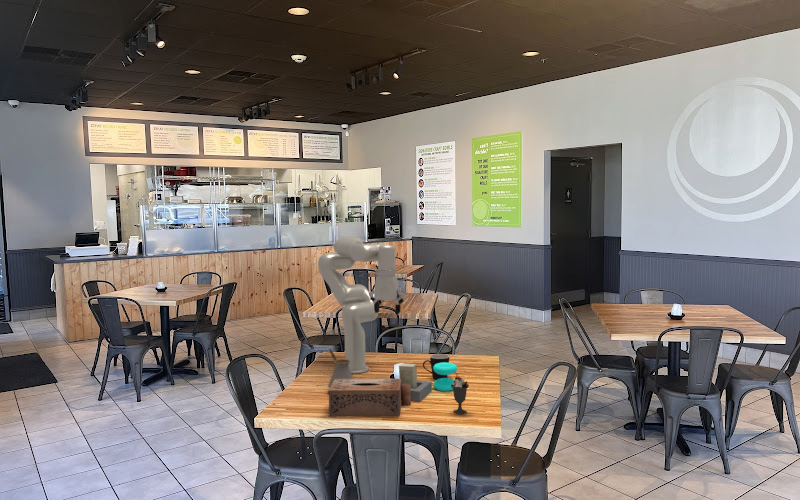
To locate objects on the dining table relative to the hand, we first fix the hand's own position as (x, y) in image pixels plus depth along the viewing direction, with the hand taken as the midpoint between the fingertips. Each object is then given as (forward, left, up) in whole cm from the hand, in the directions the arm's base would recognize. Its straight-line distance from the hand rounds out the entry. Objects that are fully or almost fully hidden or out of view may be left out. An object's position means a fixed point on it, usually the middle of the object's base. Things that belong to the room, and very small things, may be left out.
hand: (387, 313), depth 255 cm
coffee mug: (+18, +12, -31) cm, 37 cm away
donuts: (+26, 0, -31) cm, 40 cm away
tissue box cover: (+6, -36, -31) cm, 47 cm away
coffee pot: (-16, -16, -31) cm, 38 cm away
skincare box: (+15, -13, -31) cm, 36 cm away
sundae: (+40, -26, -31) cm, 57 cm away
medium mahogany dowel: (+18, -25, -30) cm, 43 cm away
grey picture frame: (+15, -13, -30) cm, 36 cm away
